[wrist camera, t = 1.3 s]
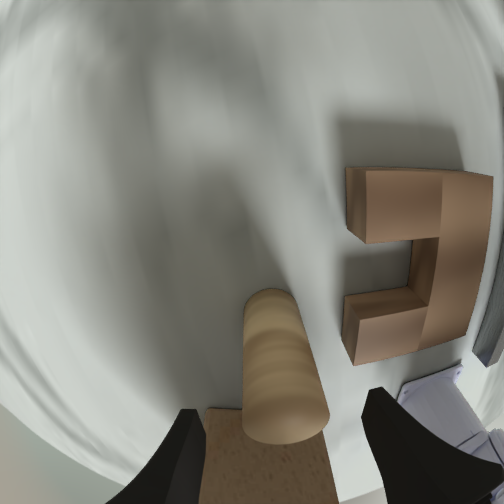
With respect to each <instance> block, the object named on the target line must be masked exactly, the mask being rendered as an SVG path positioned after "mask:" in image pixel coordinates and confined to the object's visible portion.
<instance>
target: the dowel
mask: <svg viewBox="0 0 504 504" xmlns="http://www.w3.org/2000/svg"><path fill="white" fill-rule="evenodd" d="M329 418H330V413H329V409H328V405H327V402H326V398H325V395H324V391H323V388H322V385H321V381H320V378H319V374H318V371H317V368H316V364H315V361H314V358H313V354H312V351H311V348H310V344H309V341H308V338H307V335H306V331H305V328H304V325H303V322H302V318H301V315H300V312H299V309H298V306H297V303H296V301H295V299H294V298H293V297H292V296H291V295H290V294H289V293H287V292H285V291H283V290H280V289H265V290H262V291H259V292H257V293H255V294H254V295H253V296H251V297H250V298H249V300H248V301H247V303H246V305H245V308H244V325H243V395H242V427H243V430H244V432H245V433H246V434H247V435H248V436H249V437H250V438H252V439H254V440H256V441H258V442H262V443H266V444H275V445H282V444H291V443H296V442H300V441H303V440H306V439H308V438H310V437H312V436H314V435H316V434H317V433H319V432H320V431H321V430H322V429H323V428H324V427H325V426H326V425H327V423H328V421H329Z"/></svg>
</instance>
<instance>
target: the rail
mask: <svg viewBox="0 0 504 504" xmlns="http://www.w3.org/2000/svg"><path fill="white" fill-rule="evenodd" d="M503 349H504V233H503V240H502V246H501V252H500V257H499V263H498V268H497V272H496V277H495V281H494V285H493V289H492V293H491V297H490V300H489V304H488V307H487V311H486V314H485V317H484V320H483V323H482V326H481V329H480V332H479V335H478V337H477V340H476V343H475V345H474V348H473V350H472V352H473V353H474V354H475V355H476V356H477V358H478V359H479V360H480V361H481V362H482V363H483V364H484V366H485V367H486V368H487V367H489V366H491V365H493V364H495V363H496V362H498V360H499V358H500V356H501V353H502V351H503Z"/></svg>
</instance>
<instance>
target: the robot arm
mask: <svg viewBox="0 0 504 504" xmlns="http://www.w3.org/2000/svg"><path fill="white" fill-rule="evenodd" d="M462 369H463V365H462V364H459V365H457V366H454V367H452V368H449V369H446V370H444V371H441V372H438V373H436V374H433V375H430V376H427V377H424V378H421V379H418V380H415V381H412V382H409V383H406V384H404V385H403V387H402V389H401V392H400V394H399V397H398V400H397V401H396V400H395V399H394V398H393V397H392V396H391V395H390V394H389V393H388V392H387V391H386V390H385V389H384V388H383V387H378V388H374V389H370V390H369V392H368V395H367V399H366V402H365V406H364V409H363V413H362V416H361V419H362V423H363V427H364V431H365V435H366V438H367V440H368V443H369V446H370V448H371V451H372V453H373V456H374V458H375V461H376V463H377V466H378V468H379V471H380V474H381V477H382V480H383V484H384V488H385V492H386V497H387V502H388V504H504V431H503V430H502V429H493V430H492V431H491V432H488V431H486V429H485V428H484V426H483V424H482V423H481V421H480V420H479V418H478V417H477V415H476V414H475V412H474V411H473V409H472V408H471V406H470V405H469V403H468V402H467V401H466V399H465V398H464V396H463V395H462V393H461V392H460V391H459V389H458V388H457V386H456V385H455V384H456V382H457V380H458V378H459V376H460V374H461V371H462ZM205 456H206V433H205V430H204V428H203V425H202V423H201V420H200V418H199V415H198V413H197V410H196V409H181V410H180V412H179V414H178V416H177V418H176V420H175V421H174V423H173V425H172V427H171V429H170V430H169V432H168V434H167V435H166V437H165V438H164V440H163V442H162V443H161V445H160V446H159V448H158V449H157V451H156V452H155V453H154V455H153V456H152V457H151V459H150V460H149V462H148V463H147V464H146V465H145V467H144V468H143V469H142V470H141V471H140V473H139V474H138V475H137V476H136V477H135V478H134V479H133V480H132V481H131V482H130V483H129V484H128V485H127V486H126V487H125V488H124V489H123V490H122V491H121V492H120V493H118V494H117V495H116V496H115V497H113V498H112V499H111V500H109V501H108V502H107V503H106V504H199V494H200V488H201V482H202V476H203V469H204V463H205Z"/></svg>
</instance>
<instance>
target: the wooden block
mask: <svg viewBox="0 0 504 504" xmlns="http://www.w3.org/2000/svg"><path fill="white" fill-rule="evenodd" d="M203 428H204V430H205V433H206V456H205V463H204V469H203V476H202V482H201V488H200V494H199V504H339V501H338V497H337V492H336V487H335V483H334V478H333V474H332V469H331V465H330V461H329V456H328V452H327V448H326V443H325V439H324V435H323V431H322V430H321V431H320V432H319V433H317V434H316V435H314V436H312V437H310V438H308V439H306V440H303V441H300V442H296V443H291V444H282V445H275V444H266V443H262V442H258V441H256V440H254V439H252V438H250V437H249V436H248V435H247V434H246V433H245V432H244V430H243V427H242V410H233V409H217V408H209V409H207V411H206V413H205V419H204V427H203Z"/></svg>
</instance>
